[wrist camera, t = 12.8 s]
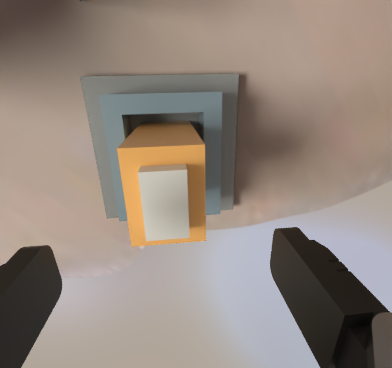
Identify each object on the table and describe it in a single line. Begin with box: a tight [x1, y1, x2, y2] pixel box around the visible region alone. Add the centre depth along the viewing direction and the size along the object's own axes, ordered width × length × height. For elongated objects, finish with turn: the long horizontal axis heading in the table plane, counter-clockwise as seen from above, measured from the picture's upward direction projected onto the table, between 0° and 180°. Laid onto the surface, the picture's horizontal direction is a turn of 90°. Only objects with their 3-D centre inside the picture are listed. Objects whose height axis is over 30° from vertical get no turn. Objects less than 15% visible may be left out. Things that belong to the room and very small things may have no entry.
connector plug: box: [117, 121, 206, 247], centre depth 18 cm, size 4×6×12 cm
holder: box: [80, 74, 239, 221], centre depth 22 cm, size 14×14×4 cm
